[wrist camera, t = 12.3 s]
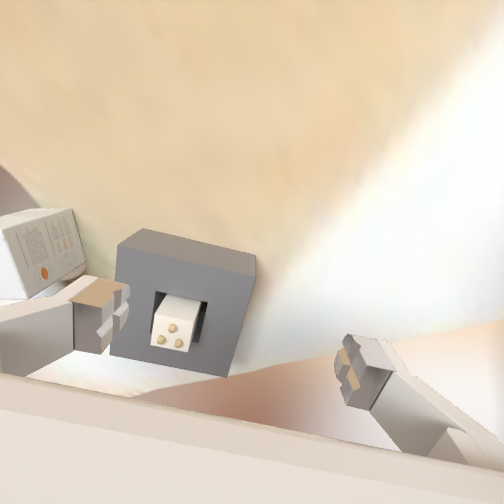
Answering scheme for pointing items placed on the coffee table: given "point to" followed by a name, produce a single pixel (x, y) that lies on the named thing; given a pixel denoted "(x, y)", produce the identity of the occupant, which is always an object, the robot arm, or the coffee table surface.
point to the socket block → (185, 285)
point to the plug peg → (176, 322)
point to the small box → (37, 250)
